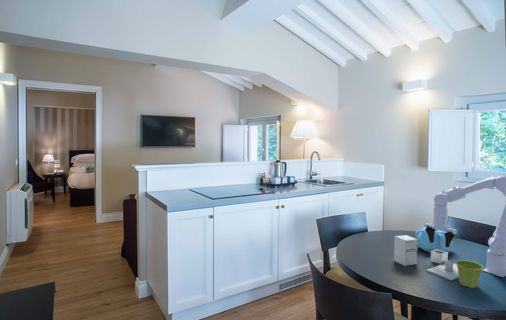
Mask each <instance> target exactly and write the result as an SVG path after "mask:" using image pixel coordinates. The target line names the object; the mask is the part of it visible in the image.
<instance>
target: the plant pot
mask: <svg viewBox="0 0 506 320" xmlns="http://www.w3.org/2000/svg"><path fill="white" fill-rule="evenodd" d="M455 264H457V267H458V274H459V278H458V282H459V284H460V285H461V286H463V287H467V288H468V289H469V288H470V289H476V288H478V285H479V280H480V278H481V277H480V276H481V273H482V272H483V269H484V266H483V264H480V263H478V262H475V261H471V260H466V259H465V260H463V259H462V260H461V259H459V260H456V261H455Z"/></svg>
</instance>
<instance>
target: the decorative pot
mask: <svg viewBox="0 0 506 320" xmlns="http://www.w3.org/2000/svg"><path fill="white" fill-rule="evenodd" d="M426 228H427V227H422V228H421V229H417V230H416V231H415V235H414V236H415V239H417V246H419V248H420V249H422V250H424V251H425V252H427V253H428V254H429V253H430V254H431V251H433V250H436V249H438V250H440V251H444V252H448V253H449V252H450V251H451V249H452V246H454V242H453V241H451V243H450V246H449V247H446V246H445V243H446V240H445V234H444V233H447V232H445V231H441V230H437V229H435V233H434V242H433V243H430V240H429V237H428V234H427V232H426V231H425V229H426Z"/></svg>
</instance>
